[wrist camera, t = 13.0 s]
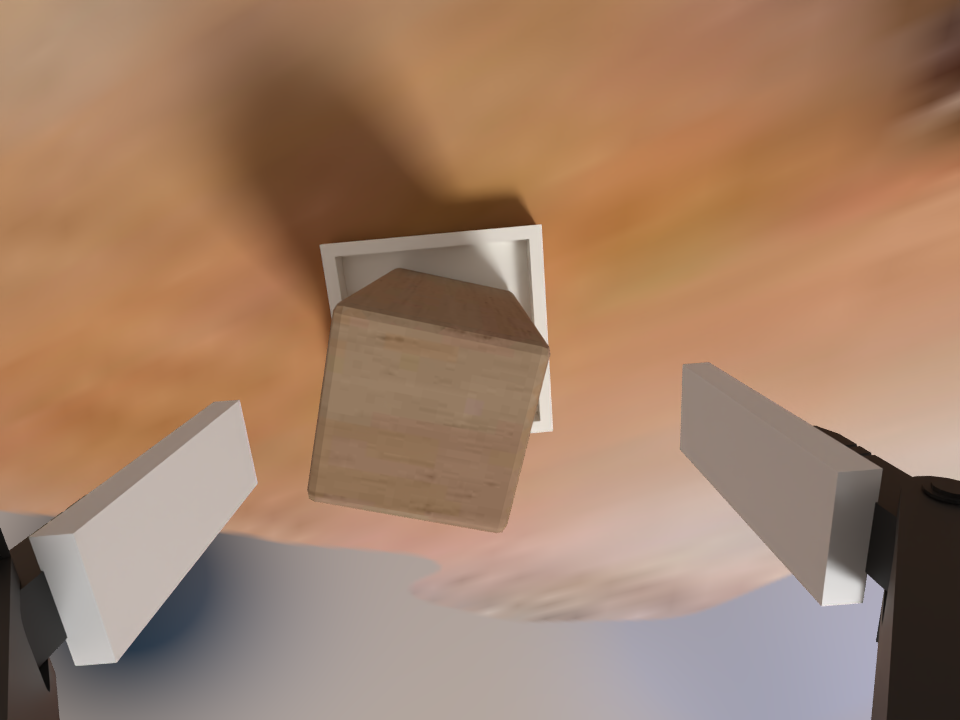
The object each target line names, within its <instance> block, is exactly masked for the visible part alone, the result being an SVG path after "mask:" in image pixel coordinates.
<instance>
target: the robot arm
mask: <svg viewBox="0 0 960 720" xmlns="http://www.w3.org/2000/svg"><path fill="white" fill-rule="evenodd" d="M680 450H681V451H682V452H683V453H684V454H685V456H686V457H687V458H688V459H689V460H690V461H691V462H692V463H693V464H694V466H695V467H696V468H697V469H698V470H699V471H700V472H701V473H702V474H703V475H704V477H705V478H706V479H707V480H708V481H709V482H710V483H711V484H712V485H713V487H714V488H715V489H716V490H717V491H718V492H719V493H720V494H721V495H722V497H723V498H724V499H725V500H726V501H727V502H728V503H729V504H730V505H731V506H732V508H733V509H734V510H735V511H736V512H737V513H738V514H739V515H740V516H741V518H742V519H743V520H744V521H745V522H746V523H747V524H748V525H749V526H750V528H751V529H752V530H753V531H754V532H755V533H756V534H757V535H758V536H759V537H760V539H761V540H762V541H763V542H764V543H765V544H766V545H767V546H768V547H769V549H770V550H771V551H772V552H773V553H774V554H775V555H776V556H777V557H778V559H779V560H780V561H781V562H782V563H783V564H784V565H785V566H786V567H787V568H788V570H789V571H790V572H791V573H792V574H793V575H794V576H795V577H796V578H797V580H798V581H799V582H800V583H801V584H802V585H803V586H804V587H805V588H806V590H807V591H808V592H809V593H810V594H811V595H812V596H813V597H814V598H815V599H816V600H817V602H818V603H819V604H820V605H821V606H830V605H843V604H856V603H863V598H864V591H865V585H866V578H867V574H868V575H869V576H870V577H872V578H873V579H874V580H875V581H876V582H877V583H878V584H879V585H880V586H881V587H883V588H884V595H883V601H882V607H881V614H880V620H879V626H878V632H877V638H876V642H878V652H877V664H876V674H875V685H874V696H873V707H872V718H871V720H960V481H958V480H954V479H950V478H942V477H935V476H915V477H911V476H910V475H908V474H906V473H905V472H903V471H901V470H899V469H898V468H896V467H894V466H893V465H891V464H889V463H888V462H886V461H884V460H882V459H881V458H879V457H877V456H876V455H871V452H869V451H867V450H865V449H864V448H862V447H860V446H857V444H855V443H854V442H852V441H850V440H849V439H847V438H845V437H843V436H842V435H840V434H838V433H835V432H832V431H829V430H826V429H823V428H821V427H818V426H812V425H810V424H809V423H807V422H806V421H804V420H802V419H801V418H799V417H797V416H796V415H794V414H792V413H791V412H789V411H788V410H786V409H784V408H783V407H781V406H779V405H778V404H776V403H774V402H773V401H771V400H770V399H768V398H766V397H765V396H763V395H761V394H760V393H758V392H756V391H755V390H753V389H752V388H750V387H748V386H747V385H745V384H743V383H742V382H740V381H738V380H737V379H735V378H734V377H732V376H730V375H729V374H727V373H725V372H724V371H722V370H720V369H719V368H717V367H716V366H714V365H712V364H711V363H709V362H706V363H693V364H683V372H682V404H681V437H680ZM257 484H258V482H257V478H256V473H255V468H254V464H253V459H252V455H251V450H250V445H249V441H248V436H247V432H246V427H245V422H244V418H243V413H242V409H241V404H240V400H233V401H220V402H213V403H212V404H210V405H209V406H208V407H206V408H205V409H204V410H202V411H201V412H199V413H198V414H197V415H195V416H194V417H193V418H191V419H190V420H188V421H187V422H186V423H184V424H183V425H182V426H180V427H179V428H178V429H176V430H175V431H173V432H172V433H171V434H169V435H168V436H167V437H165V438H164V439H162V440H161V441H160V442H158V443H157V444H156V445H154V446H153V447H151V448H150V449H149V450H147V451H146V452H145V453H143V454H142V455H141V456H139V457H138V458H136V459H135V460H134V461H132V462H131V463H130V464H128V465H127V466H125V467H124V468H123V469H121V470H120V471H119V472H117V473H116V474H115V475H113V476H112V477H110V478H109V479H108V480H106V481H105V482H104V483H102V484H101V485H99V486H98V487H97V488H95V489H94V490H93V491H91V492H90V493H89V494H87V495H85V496H83V497H82V498H81V499H79V500H78V501H77V502H75V503H74V504H73V505H71V506H70V507H68V508H67V509H66V510H65V511H64V512H62V513H60V514H59V515H57V516H56V517H55V518H53V519H52V520H51V521H50V522H49V523H46V524H45V525H44V526H42V527H41V528H40V529H38V530H37V531H36V532H34V533H33V534H32V535H30V536H29V537H27V538H26V539H24V540H23V541H22V542H20V543H19V544H18V545H16V546H15V547H14V548H12V549H11V550H8V547H7V544H6V542H5V539H4V536H3V534H2V531H1V528H0V720H60V719H59V709H58V697H57V686H56V675H55V671H54V668H53V666H52V663H51V661H50V658H49V656H50V655H51V654H52V653H53V652H54V651H55V650H56V649H57V648H58V647H59V646H60V645H61V644H62V643H63V642H64V641H65V640H66V641H67V644H68V647H69V649H70V652H71V655H72V658H73V661H74V663H75V666H79V665H92V664H105V663H115V662H117V661H118V660H119V659H120V657H121V656H122V655H123V654H124V652H125V651H126V650H127V649H128V647H129V646H130V645H131V643H132V642H133V641H134V640H135V638H136V637H137V636H138V635H139V633H140V632H141V631H142V630H143V628H144V627H145V626H146V624H147V623H148V622H149V621H150V619H151V618H152V617H153V616H154V614H155V613H156V612H157V611H158V609H159V608H160V607H161V606H162V604H163V603H164V602H165V600H166V599H167V598H168V596H169V595H170V594H171V593H172V592H173V590H174V589H175V588H176V586H177V585H178V584H179V583H180V581H181V580H182V579H183V578H184V576H185V575H186V574H187V573H188V571H189V570H190V569H191V567H192V566H193V565H194V564H195V562H196V561H197V560H198V559H199V557H200V556H201V555H202V553H203V552H204V551H205V550H206V548H207V547H208V546H209V545H210V543H211V542H212V541H213V540H214V538H215V537H216V536H217V534H218V533H219V532H220V531H221V529H222V528H223V527H224V526H225V524H226V523H227V522H228V521H229V519H230V518H231V517H232V515H233V514H234V513H235V512H236V510H237V509H238V508H239V507H240V505H241V504H242V503H243V502H244V500H245V499H246V498H247V496H248V495H249V494H250V493H251V491H252V490H253V489H254V488H255V486H256V485H257Z"/></svg>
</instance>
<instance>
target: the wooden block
mask: <svg viewBox="0 0 960 720" xmlns="http://www.w3.org/2000/svg"><path fill="white" fill-rule="evenodd" d="M549 357H550V350H549V346H548V344H547V343H546V341H545V340H544V338H543V337H542V335H541V334H540V332H539V331H538V330H537V328H536V327H535V325H534V324H533V322H532V321H531V319H530V318H529V316H528V315H527V313H526V312H525V310H524V309H523V307H522V306H521V305H520V303H519V302H518V300H517V299H516V297H515V296H514V294H513V293H512V292H510V291H508V290H503V289H498V288H493V287H489V286H484V285H479V284H474V283H470V282H465V281H460V280H455V279H451V278H446V277H441V276H436V275H432V274H427V273H422V272H417V271H413V270H408V269H403V268H396V269H394V270H392V271H390V272H389V273H387V274H385V275H384V276H382V277H380V278H379V279H377V280H375V281H374V282H372V283H370V284H369V285H367V286H365V287H364V288H362V289H360V290H359V291H357V292H355V293H354V294H352V295H350V296H349V297H347V298H345V299H344V300H342V301H340V302H339V303H337V305H336V306H335V308H334V310H333V314H332V321H331V328H330V335H329V342H328V349H327V356H326V363H325V370H324V377H323V384H322V391H321V398H320V405H319V412H318V419H317V426H316V433H315V440H314V447H313V454H312V461H311V468H310V475H309V482H308V489H307V490H308V495H309V499H311V500H313V501H315V502H320V503H326V504H332V505H338V506H343V507H349V508H355V509H361V510H366V511H372V512H378V513H384V514H389V515H395V516H401V517H407V518H412V519H418V520H424V521H430V522H435V523H441V524H447V525H453V526H459V527H464V528H470V529H476V530H482V531H487V532H493V533H500V532H503V530H504V528H505V527H506V525H507V523H508V519H509V515H510V511H511V507H512V503H513V499H514V495H515V491H516V487H517V484H518V480H519V476H520V472H521V468H522V464H523V460H524V456H525V452H526V448H527V444H528V440H529V436H530V432H531V428H532V424H533V420H534V417H535V413H536V409H537V405H538V401H539V397H540V393H541V389H542V385H543V381H544V377H545V373H546V369H547V365H548V361H549Z"/></svg>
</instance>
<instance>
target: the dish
mask: <svg viewBox="0 0 960 720" xmlns="http://www.w3.org/2000/svg"><path fill="white" fill-rule="evenodd" d="M320 250H321V256H322V262H323V269H324V275H325V281H326V287H327V293H328V299H329V305H330V311H331V317H332V314H333V310H334V308H335V306H336V305H337V303H339V302H340V301H342V300H344V299H345V298H347V297H349V296H350V295H352V294H354V293H355V292H357V291H359V290H360V289H362V288H364V287H365V286H367V285H369V284H370V283H372V282H374V281H375V280H377V279H379V278H380V277H382V276H384V275H385V274H387V273H389V272H390V271H392V270H394V269H396V268H403V269H408V270H413V271H417V272H422V273H427V274H432V275H436V276H441V277H446V278H451V279H455V280H460V281H465V282H470V283H474V284H479V285H484V286H489V287H493V288H498V289H503V290H508V291H510V292H512V293H513V294H514V296H515V297H516V299H517V300H518V302H519V303H520V305H521V306H522V307H523V309H524V310H525V312H526V313H527V315H528V316H529V318H530V319H531V321H532V322H533V324H534V325H535V327H536V328H537V330H538V331H539V332H540V334H541V335H542V337H543V338H544V340H545V341H546V343H547V344H548V332H547V314H546V297H545V279H544V261H543V243H542V225H541V224H537V225H525V226H514V227H503V228H492V229H481V230H470V231H459V232H448V233H438V234H427V235H416V236H405V237H394V238H383V239H372V240H361V241H350V242H339V243H328V244H321V245H320ZM549 431H553V422H552V404H551V386H550V368H549V361H548V365H547V369H546V373H545V377H544V381H543V385H542V389H541V393H540V397H539V401H538V405H537V409H536V413H535V417H534V420H533V424H532V428H531V432H530V433H538V432H549Z"/></svg>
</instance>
